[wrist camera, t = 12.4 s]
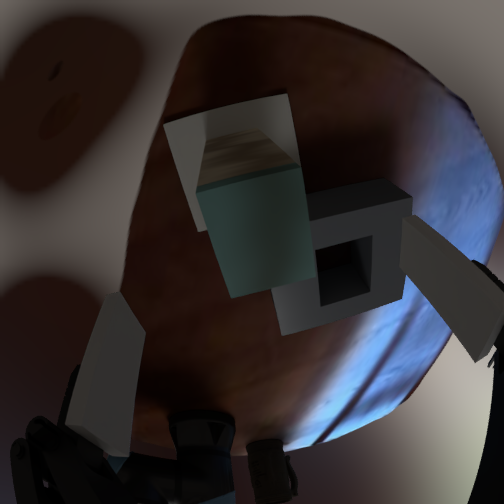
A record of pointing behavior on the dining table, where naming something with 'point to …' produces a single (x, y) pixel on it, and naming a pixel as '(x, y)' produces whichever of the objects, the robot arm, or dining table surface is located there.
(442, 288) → the robot arm
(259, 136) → the teal and tan block
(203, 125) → the coaster
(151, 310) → the dining table surface
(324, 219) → the block
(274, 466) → the beer stein
